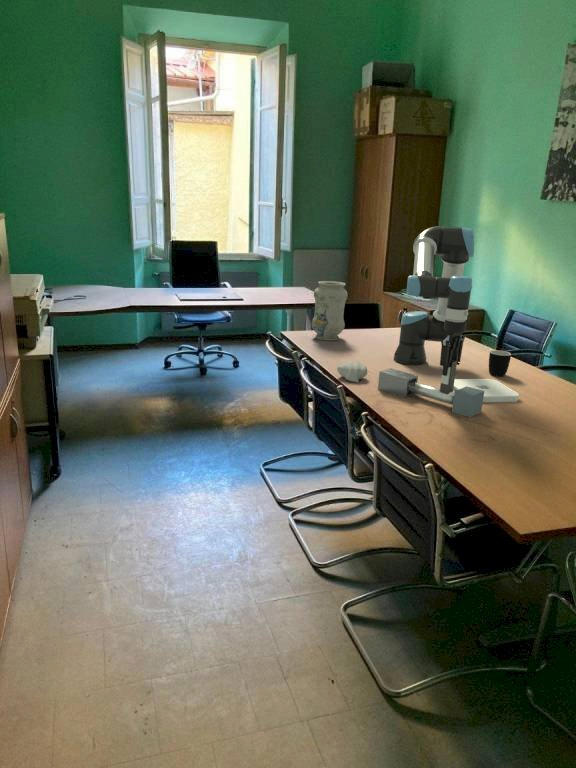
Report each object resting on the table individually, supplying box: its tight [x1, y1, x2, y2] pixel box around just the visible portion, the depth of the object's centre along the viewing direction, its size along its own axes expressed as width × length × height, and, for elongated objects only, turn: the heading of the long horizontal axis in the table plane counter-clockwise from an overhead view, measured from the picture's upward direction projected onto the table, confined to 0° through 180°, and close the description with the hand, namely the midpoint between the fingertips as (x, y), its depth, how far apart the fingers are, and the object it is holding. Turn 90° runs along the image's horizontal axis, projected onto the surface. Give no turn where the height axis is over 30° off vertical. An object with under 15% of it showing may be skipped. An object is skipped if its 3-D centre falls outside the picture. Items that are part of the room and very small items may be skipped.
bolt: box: [408, 359, 458, 406], centre depth 215 cm, size 26×4×16 cm, turn 47°
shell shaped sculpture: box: [336, 360, 368, 383], centre depth 242 cm, size 13×13×6 cm
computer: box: [453, 378, 520, 403], centre depth 231 cm, size 22×22×3 cm
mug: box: [488, 349, 512, 378], centre depth 257 cm, size 12×9×10 cm
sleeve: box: [377, 368, 419, 398], centre depth 227 cm, size 13×8×7 cm, turn 47°
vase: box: [311, 280, 348, 342], centre depth 306 cm, size 18×18×30 cm
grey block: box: [451, 386, 484, 418], centre depth 208 cm, size 7×9×8 cm
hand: (447, 382), depth 212 cm, fingers closed on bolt, 3 cm apart
